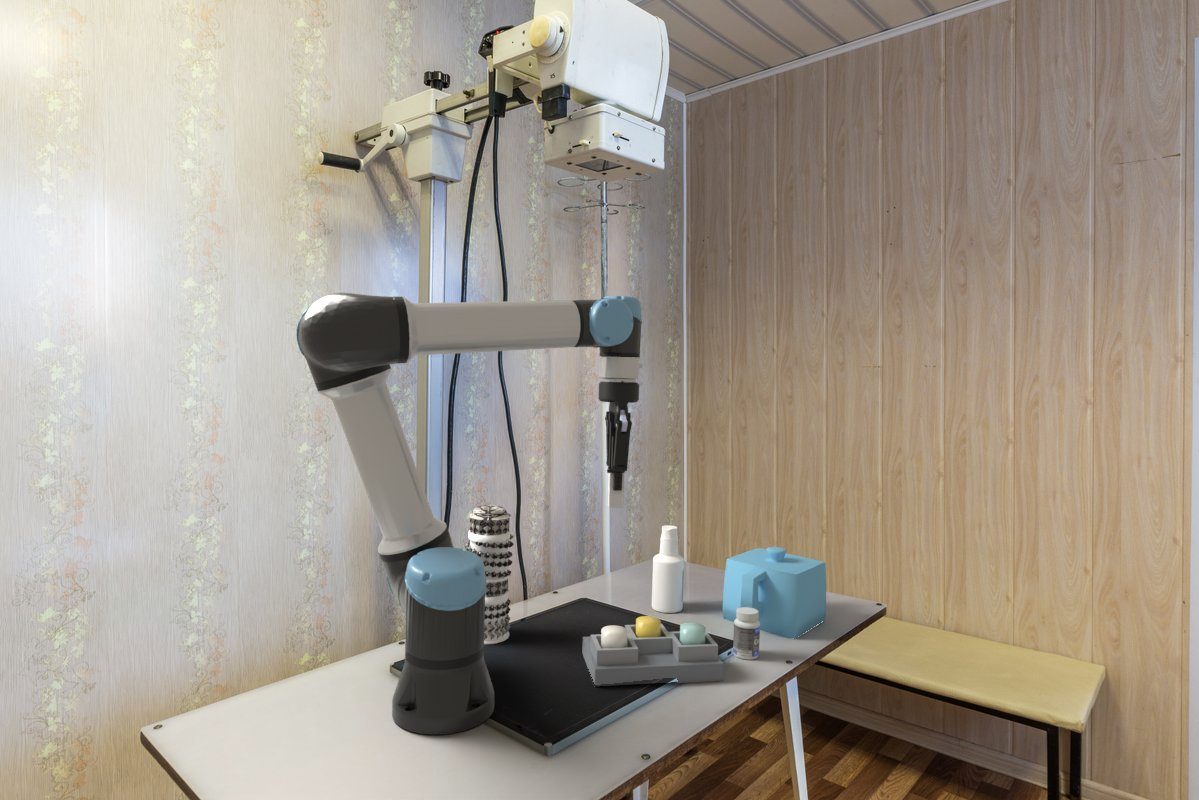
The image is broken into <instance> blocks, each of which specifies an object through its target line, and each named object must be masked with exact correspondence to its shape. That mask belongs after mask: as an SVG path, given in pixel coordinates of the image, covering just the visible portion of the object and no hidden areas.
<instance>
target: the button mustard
mask: <svg viewBox="0 0 1199 800" xmlns="http://www.w3.org/2000/svg"><path fill="white" fill-rule="evenodd" d="M661 622H662V620H661V619H660V618H658V617H656V616H652V615H651V616H650V615H642V616H638V617H637V618H635V625H636V637H637V638H643V637H660V631H661V624H662V623H661Z"/></svg>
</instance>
